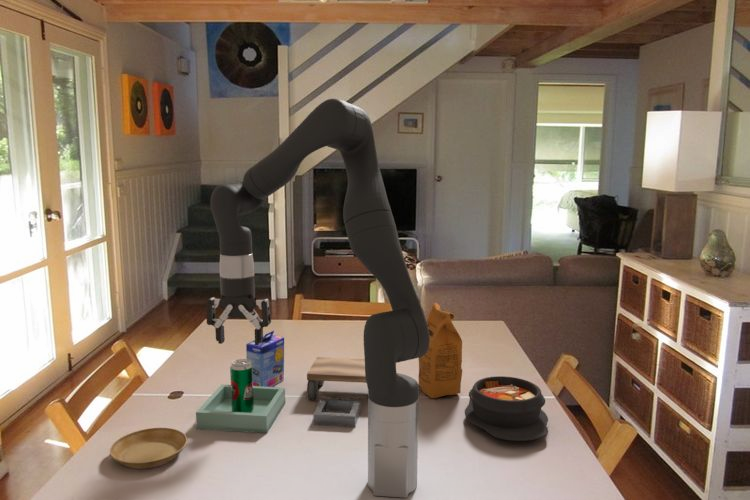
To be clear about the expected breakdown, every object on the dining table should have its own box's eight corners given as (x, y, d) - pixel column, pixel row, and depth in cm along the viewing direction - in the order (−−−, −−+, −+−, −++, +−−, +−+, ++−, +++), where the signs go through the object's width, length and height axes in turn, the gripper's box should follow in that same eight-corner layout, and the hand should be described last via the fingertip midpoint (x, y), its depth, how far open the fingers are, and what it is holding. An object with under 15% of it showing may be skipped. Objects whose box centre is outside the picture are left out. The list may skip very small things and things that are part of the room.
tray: (266, 433, 137) (266, 416, 136) (196, 429, 138) (195, 412, 138) (285, 403, 152) (285, 387, 152) (222, 399, 154) (221, 384, 153)
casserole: (453, 401, 154) (453, 369, 152) (526, 398, 156) (527, 366, 154) (480, 451, 129) (481, 413, 128) (566, 447, 131) (569, 409, 130)
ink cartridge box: (262, 393, 158) (261, 338, 156) (245, 389, 161) (243, 334, 158) (285, 380, 167) (284, 327, 165) (269, 376, 170) (267, 324, 167)
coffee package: (449, 379, 168) (451, 300, 164) (465, 397, 156) (467, 312, 152) (413, 382, 166) (414, 301, 162) (426, 401, 154) (428, 314, 150)
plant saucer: (200, 456, 127) (200, 444, 127) (128, 483, 117) (127, 470, 117) (168, 432, 138) (167, 421, 137) (99, 454, 128) (98, 443, 127)
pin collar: (355, 427, 140) (355, 416, 139) (313, 424, 141) (313, 414, 140) (360, 409, 149) (360, 399, 149) (321, 407, 150) (321, 397, 150)
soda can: (248, 417, 142) (247, 367, 140) (228, 414, 143) (226, 365, 141) (257, 407, 147) (255, 359, 145) (237, 405, 148) (235, 357, 146)
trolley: (379, 406, 151) (379, 379, 149) (306, 402, 153) (305, 375, 151) (385, 383, 165) (385, 358, 163) (318, 380, 167) (317, 355, 165)
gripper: (199, 276, 137) (203, 347, 139) (263, 277, 135) (265, 349, 138) (212, 269, 144) (215, 337, 147) (272, 270, 142) (274, 339, 145)
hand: (239, 343), depth 142 cm, fingers open, 8 cm apart
